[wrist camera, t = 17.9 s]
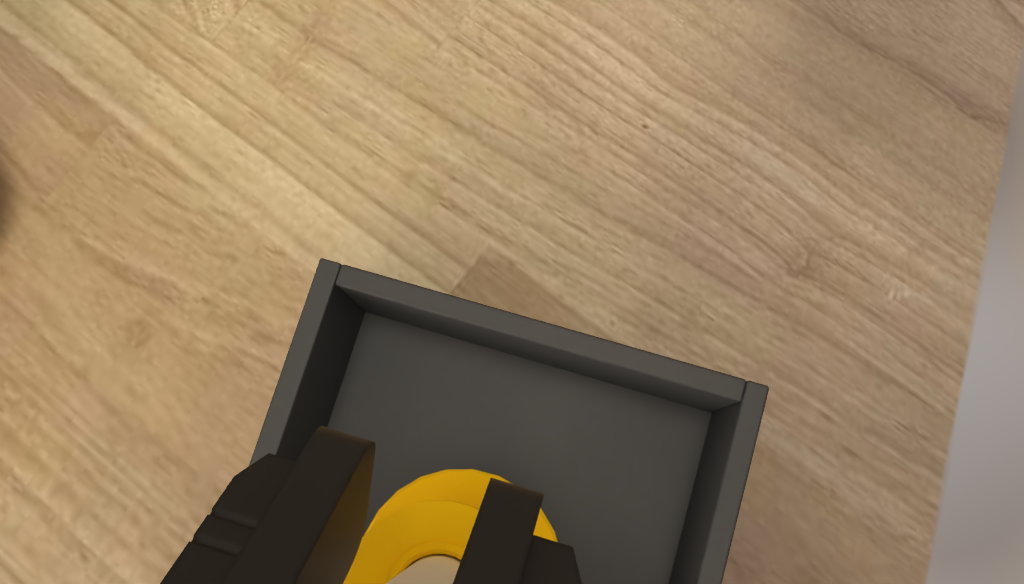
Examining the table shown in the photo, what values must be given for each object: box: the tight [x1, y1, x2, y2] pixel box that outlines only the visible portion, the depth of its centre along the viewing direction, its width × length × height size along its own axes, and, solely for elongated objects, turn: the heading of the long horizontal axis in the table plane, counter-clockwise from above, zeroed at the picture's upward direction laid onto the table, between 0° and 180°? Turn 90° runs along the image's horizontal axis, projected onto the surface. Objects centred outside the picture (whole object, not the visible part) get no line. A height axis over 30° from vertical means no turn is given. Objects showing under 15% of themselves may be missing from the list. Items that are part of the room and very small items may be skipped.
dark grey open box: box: [249, 258, 769, 584], centre depth 29 cm, size 14×14×6 cm
